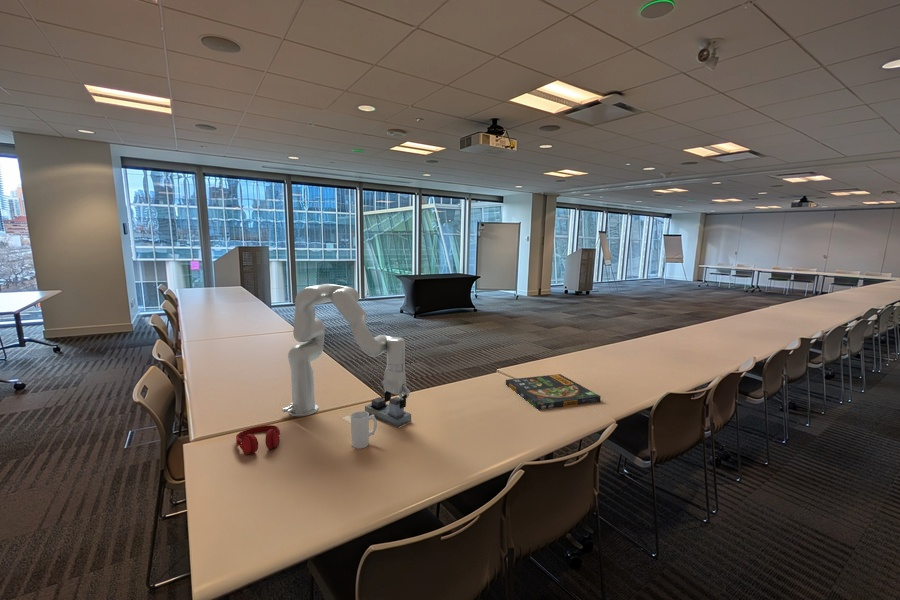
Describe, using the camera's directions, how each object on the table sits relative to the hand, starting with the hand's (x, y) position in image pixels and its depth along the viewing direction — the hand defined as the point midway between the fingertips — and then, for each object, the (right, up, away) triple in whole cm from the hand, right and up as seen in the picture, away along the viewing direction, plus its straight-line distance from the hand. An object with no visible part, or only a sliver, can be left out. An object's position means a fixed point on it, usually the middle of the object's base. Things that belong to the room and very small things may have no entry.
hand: (395, 404), depth 164 cm
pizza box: (+77, -5, +36) cm, 85 cm away
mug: (-9, -10, -18) cm, 23 cm away
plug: (+1, -7, +1) cm, 7 cm away
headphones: (-50, -10, -18) cm, 54 cm away
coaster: (-17, -7, +3) cm, 19 cm away
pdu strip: (-4, -7, +5) cm, 9 cm away
